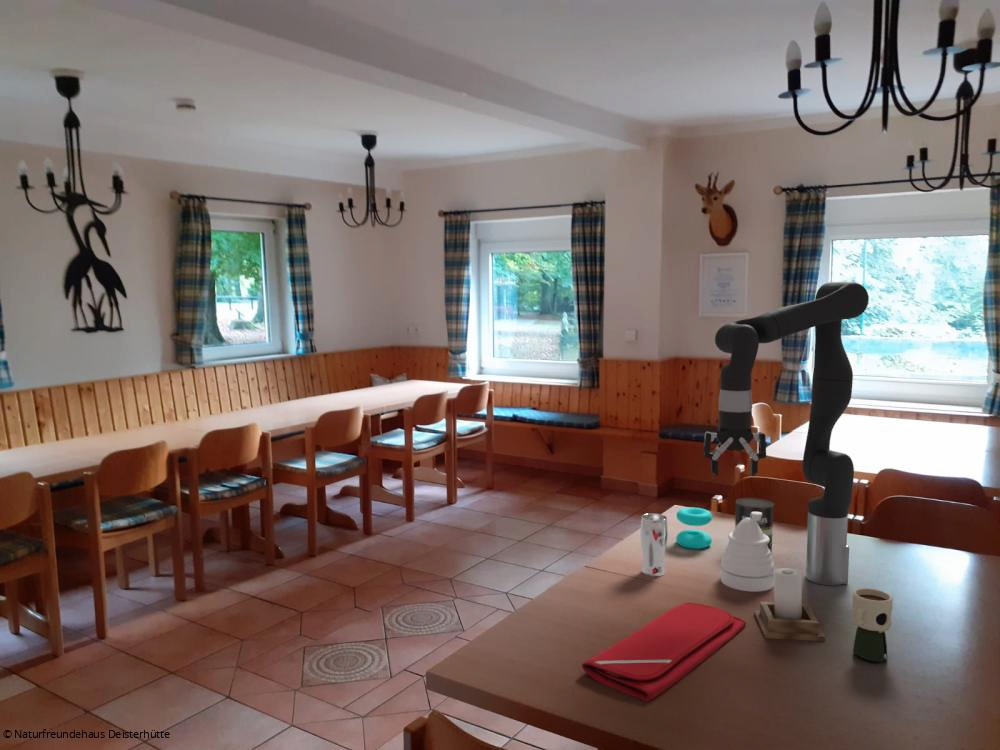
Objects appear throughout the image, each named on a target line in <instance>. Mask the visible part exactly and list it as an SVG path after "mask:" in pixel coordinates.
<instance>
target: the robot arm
mask: <svg viewBox="0 0 1000 750" xmlns="http://www.w3.org/2000/svg"><path fill="white" fill-rule="evenodd" d="M868 293H869V292H868V291H867V288H865V286H863V285H862V284H860V283H858V282H855V281H831V282H825V283H824V284H822V285H820V286H819V288H818V289H817V291H816V294H815V297H814V299H813V300H809V301H806V302H801V303H797V304H791V305H786V306H783V307H778V308H776V309H773V310H770V311H767V312H765V313H760V314H759V315H758V316H754V317H750V318H744V319H741V320H736V321H732V322H729V323H726V324H724V325H722V326H721V327H720V328H719V329H718V330H717V331H716V333H715V336H714V341H715V342H714V343H715V345H716V348H717V349H718V350H720V351H721V352H723V353H726V354H730V355H731V356H730V359H729V363H727V364H725V365H723V366H722V367H721V370H720V376H719V377H720V378H719V379H720V380H719V381H720V384H719V385H720V387H719V389H720V390H719V396H718V427H717V428H718V429H717V432H711V431H705V432H704V436H703V437H704V438H703V447H702V448H703V450H702V454H703V456H704V457H705V458H706V459H707V458H708V459H710V471H711V473H712V474H713V476H718V475H719V460H718V459H719V457H720V456H721V455H722V454H723V453H724V452H725V451H726V450H727V451H728V452H733V451H738V452H743V451H744V450H745V452H746V453H747V454H748V455H749V456H750V459H749V475H750V476H751V477H756V476H755V475H757V473H758V468H759V467H758V466H759V464H758V463H759V460H761V459H765V458H766V457H767V440H766V439H767V438H766V436H767V435H766V434H765V433H764V432H763V431H759V432H752V423H753V422H752V421H753V420H752V416H753V415H752V414H753V410H752V409H753V396H752V372H753V369H754V366H755V362H756V358H757V355H758V351H759V345H760V344H768V343H773V342H775V341H778V340H781V339H783V338H787V337H788V336H791V335H794V334H797V333H800V332H803V331H805V330H809V329H812V328H813V327H814V331H815V332H814V357H813V359H814V360H813V372H812V378H811V379H812V380H811V396H810V397H811V400H810V401H811V402H810V412H809V421H808V429H807V435H806V439H805V445H804V450H803V451H804V452H803V457H802V473H803V477H804V479H805V480H806V481H808V482H809V483H812V484H814V485H818V486H821V487H824V491H823V495H822V497H821V496H820V497H816V498H815V497H814V498H811V499H810V500H809V501H808V505H807V530H806V531H807V532H806V533H807V534H806V535H807V537H806V559H805V560H806V562H805V563H806V564H805V578H807V580H808V581H810V582H812V583H815V584H819V585H824V586H840V585H844V584H845V585H848V584H849V566H850V547H849V545H848V543H847V541H848V519H849V508H850V506H851V503H852V499H853V486H854V479H855V477H854V476H855V475H854V474H855V466H854V462H853V460H852V458H851V456H849V455H848V454H847V453H843V452H839V451H834V450H831V449H830V445H831V438H832V437H831V436H832V432H833V429H834V427H835V425H836V424H837V422H838V420H839V419H840V418H841V417H842V416H843V414H844V412H845V411H846V409H847V408H848V406H849V404H850V402H851V400H852V399H851V398H852V394H853V392H852V391H853V382H854V381H853V379H854V372H853V368H852V365H851V362H850V360H849V357H848V354H847V352H846V350H845V347H844V345H843V340H842V339H843V338H842V325H843V324H842V323H843V320H850V319H851V320H852V319H855V318H858V317H859V316H861V315H862V314H864V313H865V311H866V310H867V308H868V305H869V300H870V299H869V294H868ZM715 438H716V439H717V440H718V441H719V443H718V444H717V446H716V447H715V449H714V450H713V451H712V452H711V444H712V442H714V440H715ZM753 439H754V440H755V441H756V442H757V443H758V445H757V447H758V452H755V451H754V450H753V449H752V447H751V446H750V445H749V444H750V443H751V442H752V441H753Z"/></svg>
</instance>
